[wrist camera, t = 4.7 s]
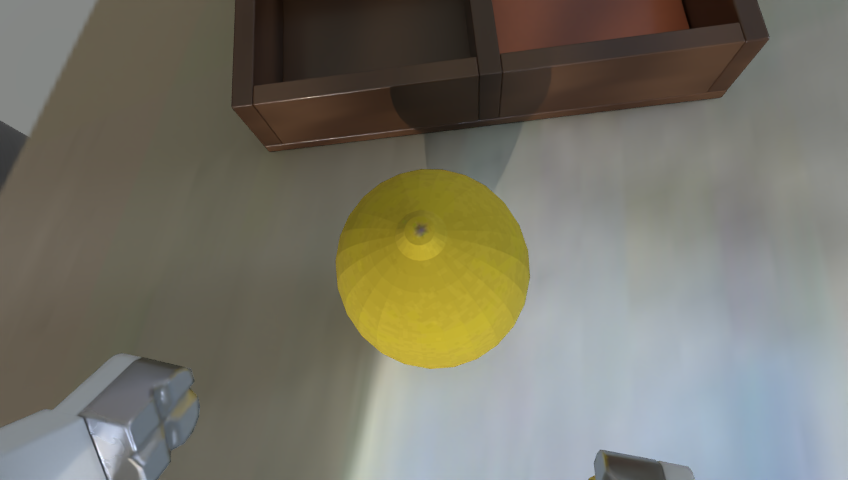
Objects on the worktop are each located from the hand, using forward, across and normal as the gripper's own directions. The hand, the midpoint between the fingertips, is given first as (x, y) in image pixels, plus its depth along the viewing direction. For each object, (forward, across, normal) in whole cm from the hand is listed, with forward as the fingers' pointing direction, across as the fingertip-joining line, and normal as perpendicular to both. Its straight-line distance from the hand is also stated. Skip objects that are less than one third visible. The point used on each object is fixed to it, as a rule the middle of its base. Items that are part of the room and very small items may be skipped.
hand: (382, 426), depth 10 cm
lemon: (+9, 0, +3) cm, 9 cm away
